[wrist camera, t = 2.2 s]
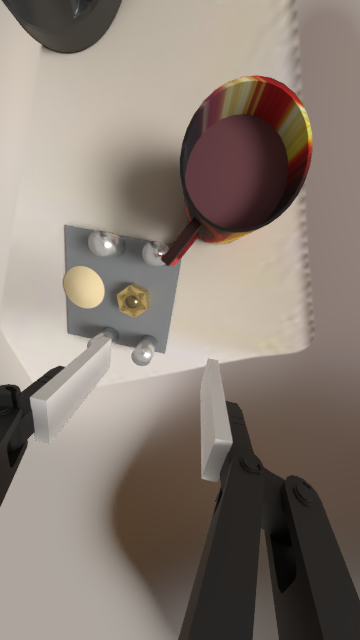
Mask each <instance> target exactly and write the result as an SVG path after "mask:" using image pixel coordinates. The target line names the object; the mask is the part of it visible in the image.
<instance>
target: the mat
mask: <svg viewBox="0 0 360 640" xmlns="http://www.w3.org/2000/svg"><path fill="white" fill-rule="evenodd" d="M92 232H94V230H88V229H83V228H78V227H73V226H67V225H65V248H66V275H65V277H64V290H65V292H66V294H67V315H68V333H69V334H73V335H78V336H83V337H88V338H94V337H95V336H96V335H98V334H99V333H100V332H101V331H103V330H104V329H105V328H107V327H113V328H115V329H116V330H117V331H118V333H119V339H118V340H117V341H116V342H115V343H117V344H121V345H126V346H131V347H137V345H138V344H139V342H140V341H141V339H142V338H143V337H144V336H146V335H151V336H154V337H155V338H156V339H157V342H158V345H157V347H156V350H155V352H160V353H164V354H165V350H166V344H167V338H168V332H169V326H170V321H171V315H172V309H173V303H174V298H175V292H176V286H177V280H178V275H179V269H180V263H181V259H180V260H179V261H178V262H177V263H176V264H175V265H173V266H172V265H171V266H167V265H166V264H164V265H161V266H157V267H152V266H149V265H148V264H146V262H145V261H144V259H143V256H142V250H143V248H144V246H145V245H146V244H147V243H149V242H151V241H146V240H141V239H135V238H130V237H125V236H120V235H119V236H120V237H122V238H123V239H124V241H125V244H126V249H125V252H124V253H123V254H122V255H121V256H97V255H95V254H94V253H93V252H92V251H91V250H90V248H89V245H88V238H89V236H90V234H91V233H92ZM165 245H167V244H165ZM167 246H168V247H169V248H170V247H171V246H172V245H167ZM134 283H135V284H137V285H139V286H142V287H144V288H146V289H148V290H149V293H150V301H151V306H150V307H149V308H148V309H147V310H146V311H144V312H143V313H141V314H140V315H139V316H137V317H136V318H134V317H131V316H129V315H127V314H125V313H123V312H121V311H120V309H119V304H118V299H117V294H119V293H120V292H121V291H123V290H124V289H125V288H127V287H128V286H129V285H131V284H134Z"/></svg>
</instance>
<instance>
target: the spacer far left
mask: <svg viewBox="0 0 360 640" xmlns="http://www.w3.org/2000/svg"><path fill="white" fill-rule="evenodd" d="M101 337H107V338H112V339H111V347H112V346H113V345H114V344H115V342H116V341H117V340H118V339H119V333H118V331H117V330H116V329H115V328H113V327H107V328H105V329H104V330H103V331H101V332H100V333H99V334H98V335H96V336H95V337H94V338H92V339H91V340H90V341H89V342H88V344H87V349H88V348H89V347H90V346H91V345H93V344H94V343H95V342H96V341H97V340H98V339H100V338H101Z"/></svg>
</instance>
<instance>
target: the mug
mask: <svg viewBox="0 0 360 640" xmlns="http://www.w3.org/2000/svg"><path fill="white" fill-rule="evenodd" d="M311 156H312V131H311V126H310V121H309V118H308V115H307V113H306V110H305V108H304V106H303V104H302V103H301V101H300V100H299V98H298V97H297V96H296V94H295V93H294V92H293V91H292V90H290V89H289V88H288V87H287V86H286V85H285V84H283V83H281V82H279V81H277V80H275V79H272V78H269V77H263V76H257V75H256V76H246V77H241V78H238V79H235V80H232V81H229V82H227V83H226V84H224V85H223V86H221V87H219V88H218V89H216V90H215V91H214V92H213V93H212V94H211V95H210V96H209V97H207V98H206V99H205V100H204V101H203V103H202V104H201V105H200V107H199V108H198V110H197V111H196V112H195V114H194V115H193V117H192V119H191V121H190V123H189V125H188V127H187V130H186V133H185V136H184V140H183V143H182V149H181V156H180V175H181V181H182V187H183V194H184V200H185V206H186V212H187V218H188V221H189V224H188V225H187V227H186V228H185V229H184V230H183V232H182V233H181V234H180V236H179V237H178V238H177V240H176V241H175V242H174V243H173V245H172V246H171V247H170V249H169V250H168V251H167V253H166V254H165V255H164V256H163V257H162V258H161V260H162V261H163V262H164V263H165V264H166V265H167V266H171V265H172V266H173V265H175V264H176V263H177V262H178V261H179V260H180V259H181V258H182V256H183V255H184V254H185V253H186V251H187V250H188V249H189V248H190V246H191V245H192V244H193V243H194V241H195V240H196V239H197V238H198V237H200V238H201V239H203V240H204V241H206V242H209V243H212V244H226V243H230V242H232V241H234V240H236V239H239V238H241V237H243V236H245V235H247V234H249V233H251V232H253V231H255V230H257V229H259V228H261V227H264V226H266V225H268V224H269V223H271V222H272V221H274V220H275V219H276V218H278V217H279V216H280V215H281V214H282V213H283V212H284V211H285V210H286V209H287V208H288V207H289V206H290V205H291V204H292V202H293V201H294V200H295V198H296V197H297V195H298V194H299V192H300V190H301V188H302V186H303V184H304V182H305V180H306V177H307V173H308V170H309V167H310V162H311Z"/></svg>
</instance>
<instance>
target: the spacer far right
mask: <svg viewBox="0 0 360 640" xmlns="http://www.w3.org/2000/svg"><path fill="white" fill-rule="evenodd" d="M157 345H158V342H157V339H156V338H155V337H154V336H151V335H146V336H144V337H143V338H142V339H141V341H140V342H139V344H138V345H137V347H136V348H135V349H134V351H133V352H132V356H131V357H132V360H133V362H134V363H135V364H137V365H139V366H145V365H147V364H149V363H150V361H151V358H152V356H153V354H154V352H155V350H156V347H157Z"/></svg>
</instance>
